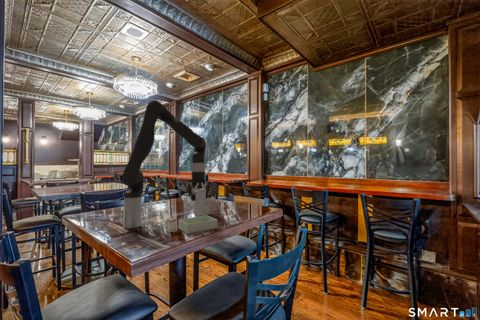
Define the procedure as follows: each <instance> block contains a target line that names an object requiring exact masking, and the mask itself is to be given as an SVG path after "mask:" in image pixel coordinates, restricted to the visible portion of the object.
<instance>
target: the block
mask: <svg viewBox="0 0 480 320" xmlns="http://www.w3.org/2000/svg"><path fill="white" fill-rule="evenodd" d="M191 202H192V203H193V204H195V203H202V202H206V191H195V193H194V201H192V200H191Z"/></svg>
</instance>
